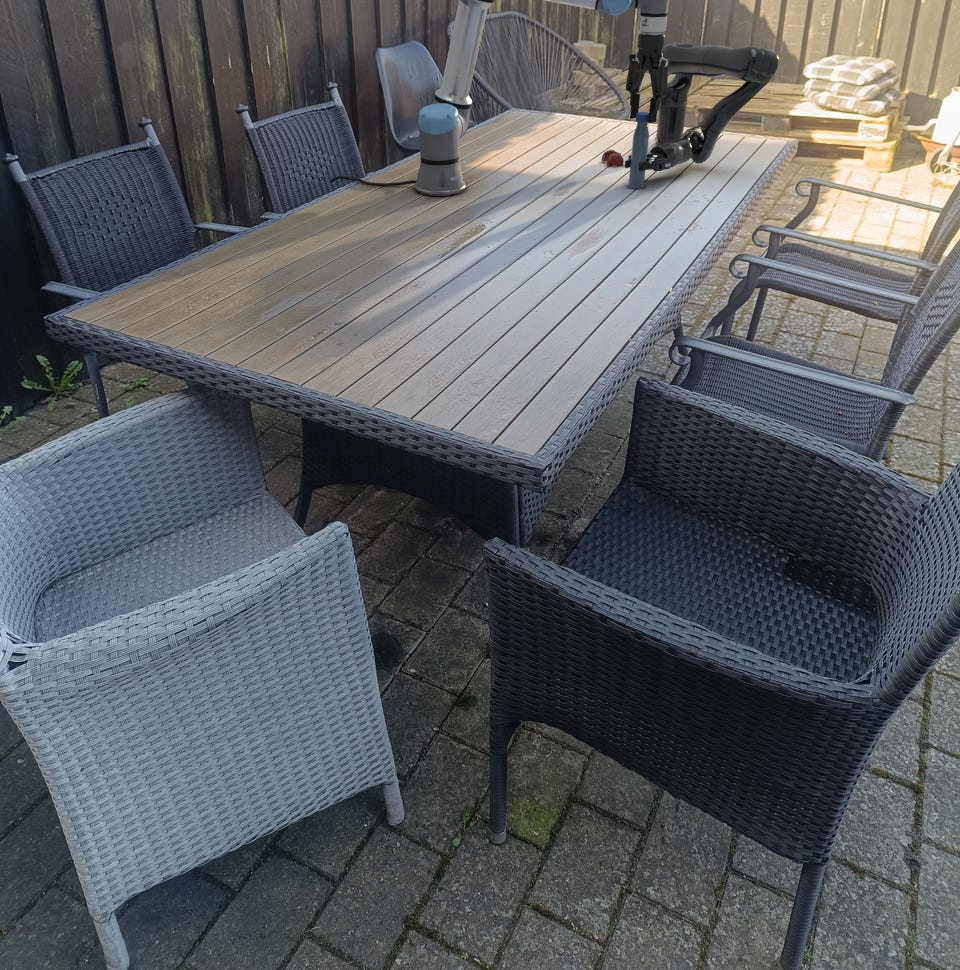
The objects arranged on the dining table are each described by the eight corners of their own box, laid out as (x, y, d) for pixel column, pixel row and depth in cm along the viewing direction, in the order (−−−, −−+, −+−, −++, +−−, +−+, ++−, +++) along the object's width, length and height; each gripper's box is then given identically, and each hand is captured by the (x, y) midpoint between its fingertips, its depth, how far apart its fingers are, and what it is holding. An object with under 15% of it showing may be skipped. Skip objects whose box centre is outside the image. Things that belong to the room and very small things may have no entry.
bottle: (624, 186, 262) (631, 115, 250) (636, 183, 264) (643, 113, 252) (635, 189, 258) (642, 118, 247) (646, 187, 261) (654, 116, 249)
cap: (632, 120, 251) (633, 113, 249) (643, 118, 252) (644, 111, 251) (641, 123, 248) (642, 115, 246) (652, 121, 249) (653, 114, 248)
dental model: (616, 146, 283) (625, 152, 277) (615, 159, 286) (624, 165, 280) (600, 148, 282) (609, 154, 276) (600, 161, 285) (608, 167, 279)
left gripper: (617, 30, 241) (610, 116, 254) (669, 38, 228) (659, 128, 242) (635, 27, 245) (627, 112, 258) (687, 35, 232) (676, 124, 245)
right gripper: (649, 139, 267) (615, 149, 258) (686, 147, 259) (653, 158, 249) (646, 163, 272) (613, 174, 262) (683, 173, 263) (650, 183, 254)
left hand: (642, 120), depth 250 cm, fingers open, 7 cm apart
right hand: (632, 166), depth 256 cm, fingers closed on bottle, 4 cm apart
